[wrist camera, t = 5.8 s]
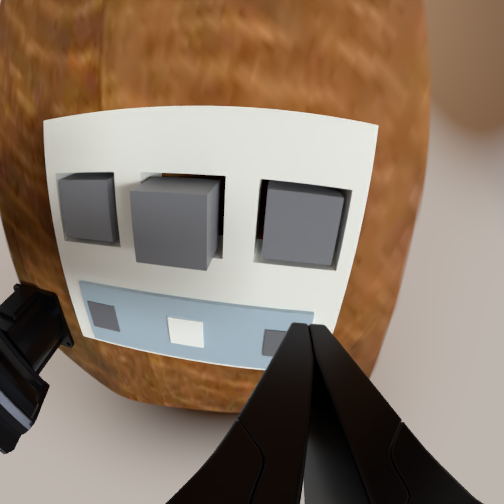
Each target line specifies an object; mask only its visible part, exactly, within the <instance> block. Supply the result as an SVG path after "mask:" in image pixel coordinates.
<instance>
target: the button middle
mask: <svg viewBox="0 0 504 504" xmlns="http://www.w3.org/2000/svg"><path fill="white" fill-rule="evenodd" d="M219 200H220V180H214V179H198V178H178V177H152V178H150V179H149V180H147V181H145V182H143V183H142V184H140V185H138V186H137V187H135V188H133V189H132V190H130V204H131V217H132V228H133V238H134V248H135V256H136V262H138V263H146V264H154V265H162V266H170V267H178V268H186V269H194V270H203V271H207V269H208V267H209V265H210V262H211V260H212V258H213V256H214V253H215V251H216V249H217V247H218V233H219Z"/></svg>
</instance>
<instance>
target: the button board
mask: <svg viewBox="0 0 504 504" xmlns="http://www.w3.org/2000/svg"><path fill="white" fill-rule="evenodd" d="M43 123H44V150H45V164H46V175H47V184H48V192H49V200H50V207H51V213H52V219H53V225H54V230H55V235H56V240H57V245H58V250H59V254H60V259H61V263H62V267H63V271H64V275H65V279H66V282H67V286H68V290H69V293H70V297H71V300H72V303H73V306H74V310H75V313H76V316H77V319H78V322H79V325H80V328H81V330H82V333H83V336H85V337H89V338H92V339H96V340H100V341H104V342H107V343H111V344H115V345H119V346H123V347H127V348H132V349H136V350H141V351H145V352H150V353H154V354H159V355H164V356H169V357H175V358H180V359H186V360H192V361H198V362H204V363H210V364H217V365H224V366H232V367H240V368H248V369H257V370H266V368H267V367H268V365H269V363H270V361H271V359H272V358H273V356H274V354H275V352H276V350H277V349H278V347H279V345H280V343H281V341H282V339H283V338H284V336H285V334H286V332H287V330H288V328H289V326H290V325H291V323H293V322H297V323H306V324H308V325H309V324H322V325H325V326H326V327H327V328H328V329H329V330H330V332H331V333H332V334H333V331H334V328H335V325H336V321H337V318H338V315H339V311H340V308H341V305H342V301H343V298H344V294H345V290H346V287H347V283H348V279H349V276H350V272H351V268H352V264H353V260H354V256H355V252H356V247H357V243H358V239H359V234H360V230H361V225H362V221H363V216H364V211H365V206H366V201H367V196H368V190H369V185H370V179H371V173H372V167H373V161H374V155H375V148H376V141H377V134H378V126H379V125H374V124H370V123H365V122H360V121H354V120H349V119H343V118H337V117H331V116H325V115H318V114H311V113H303V112H295V111H286V110H276V109H264V108H250V107H230V106H163V107H144V108H130V109H119V110H109V111H101V112H93V113H86V114H79V115H72V116H66V117H61V118H55V119H50V120H45V121H43ZM82 172H114V183H115V197H116V208H117V219H118V228H119V237H118V238H117V239H116V240H115V241H113V242H108V241H99V240H90V239H81V238H72V237H67V236H66V230H65V224H64V218H63V212H62V205H61V197H60V189H59V180H61V179H63V178H66V177H68V176H70V175H73V174H75V173H82ZM162 173H181V174H201V175H217V176H226V182H225V205H224V232H223V235H218V247H217V249H216V251H215V253H214V256H213V258H212V260H211V262H210V265H209V267H208V269H207V271H203V270H194V269H186V268H178V267H170V266H162V265H154V264H146V263H138V262H136V256H135V248H134V238H133V228H132V217H131V204H130V190H132V189H133V188H135V187H137V186H138V185H140V184H142V183H143V182H145V181H147V180H149V179H150V178H152V177H162ZM262 179H267V180H277V181H286V182H295V183H304V184H312V185H320V186H327V187H335V188H339V192H340V193H341V194H342V196H343V197H344V201H343V207H342V212H341V218H340V223H339V228H338V234H337V239H336V243H335V248H334V253H333V258H332V262H331V265H323V264H313V263H303V262H294V261H284V260H274V259H265V258H261V256H262V245H263V239H257V238H258V226H259V215H260V203H261V191H262Z"/></svg>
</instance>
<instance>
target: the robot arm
mask: <svg viewBox="0 0 504 504" xmlns="http://www.w3.org/2000/svg"><path fill="white" fill-rule="evenodd" d="M14 291H15V292H14V293H13V294H12V295H10V296H9V297H8V298H7V299H6V300H5V301H4V302H3V303H2V304H1V305H0V451H1V452H2V453H3V454H7V453H9V452H11V451H12V450H14V449H15V446H16V444H17V442H18V440H19V438H20V436H21V435H22V434H24V433H26V432H27V431H28V430H29V429H30V428H31V427H32V426H33V424H34V423H35V421H36V419H37V417H38V414H39V412H40V409H41V406H42V403H43V401H44V399H45V396H46V394H47V391H48V389H49V384H48V383H47V382H45V381H44V380H43V379H42V378H41V377H40V376H39V374H40V372H41V371H42V369H43V368H44V366H45V365H46V363H47V362H48V361H49V359H50V358H51V357H52V355H53V354H54V353H55V351H56V350H57V348H58V347H59V346H60V344H61V345H64V346H67V347H70V348H72V347H73V346H74V341H73V339H72V336H71V334H70V331H69V329H68V326H67V323H66V320H65V318H64V315H63V312H62V309H61V306H60V303H59V300H58V297H57V296H56V295H55V294H54V293H50V292H46V291H42V290H39V289H35V288H31V287H28V286H24V285H21V284H15V285H14ZM303 478H304V496H305V504H483V503H481V502H480V501H478V500H477V499H476V498H474V497H473V496H472V495H471V494H470V493H469V492H468V491H467V490H466V489H465V488H464V487H463V486H462V485H461V484H460V483H458V481H457V480H456V479H455V478H454V477H453V476H451V474H449V472H448V471H447V470H445V468H443V467H442V466H441V465H440V464H439V463H438V461H437V460H435V458H434V457H433V456H432V455H431V454H430V453H429V452H428V451H427V450H426V449H425V448H424V446H423V445H422V444H421V443H420V442H419V440H418V439H417V438H416V437H415V436H414V435H413V433H412V432H411V431H410V429H408V427H407V426H406V425H405V423H404V422H401V418H400V417H399V416H398V415H397V413H396V412H395V411H394V410H393V408H392V407H391V406H390V405H389V403H388V402H387V401H386V400H385V399H384V397H383V396H382V395H381V393H380V392H379V391H378V390H377V389H376V387H375V386H374V385H373V383H372V382H371V381H370V380H369V378H368V377H367V376H366V375H365V374H364V372H363V371H362V370H361V369H360V367H359V366H358V365H357V364H356V362H355V361H354V360H353V359H352V357H351V356H350V355H349V354H348V353H347V351H346V350H345V349H344V348H343V346H342V345H341V344H340V343H339V341H338V340H337V339H336V338H335V337H334V335H333V334H332V333H331V332H330V330H329V329H328V328H327V327H326V326H325V325H322V324H309V325H308V324H306V323H297V322H293V323H291V325H290V326H289V328H288V330H287V332H286V334H285V336H284V338H283V339H282V341H281V343H280V345H279V347H278V349H277V350H276V352H275V354H274V356H273V358H272V359H271V361H270V363H269V365H268V367H267V368H266V370H265V372H264V374H263V375H262V377H261V379H260V381H259V382H258V384H257V386H256V387H255V389H254V391H253V393H252V394H251V396H250V398H249V399H248V401H247V403H246V404H245V406H244V408H243V409H242V411H241V413H240V414H239V416H238V418H237V420H236V421H235V422H234V424H233V425H232V427H231V428H230V430H229V432H228V433H227V435H226V436H225V437H224V439H223V440H222V442H221V443H220V445H219V446H218V447H217V449H216V450H215V451H214V453H213V454H212V455H211V456H210V458H209V459H208V460H207V461H206V462H205V464H204V465H203V466H202V467H201V468H200V469H199V470H198V472H197V473H196V474H195V475H194V476H193V477H192V478H191V479H190V480H189V481H188V482H187V483H186V484H185V485H184V486H183V487H182V488H181V489H180V490H179V491H178V492H177V493H176V494H175V495H174V496H173V497H172V498H171V499H170V500H169V501H168V502H167V503H166V504H300V499H301V492H302V485H303Z"/></svg>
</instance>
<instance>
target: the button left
mask: <svg viewBox="0 0 504 504" xmlns="http://www.w3.org/2000/svg"><path fill="white" fill-rule="evenodd" d="M59 189H60V197H61V205H62V212H63V218H64V224H65V230H66V236H67V237H72V238H81V239H90V240H99V241H108V242H113V241H115V240H116V239H117V238H118V237H119V228H118V219H117V208H116V197H115V183H114V172H82V173H75V174H73V175H70V176H68V177H66V178H63V179H61V180H59Z"/></svg>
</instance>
